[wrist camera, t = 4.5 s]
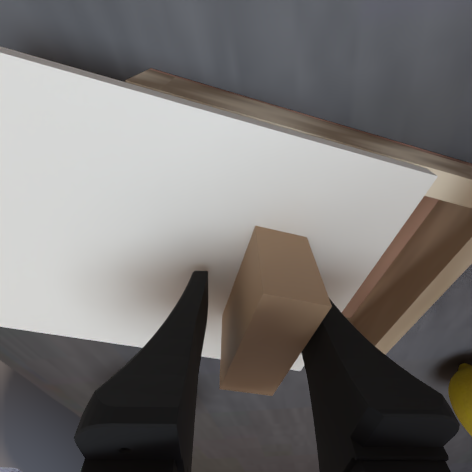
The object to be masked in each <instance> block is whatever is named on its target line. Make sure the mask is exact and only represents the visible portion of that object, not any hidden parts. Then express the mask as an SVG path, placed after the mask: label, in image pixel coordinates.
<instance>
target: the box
mask: <svg viewBox="0 0 472 472" xmlns="http://www.w3.org/2000/svg"><path fill="white" fill-rule="evenodd" d="M125 82H126V83H130V84H133V85H137V86H140V87H144V88H147V89H151V90H154V91H158V92H161V93H165V94H168V95H172V96H175V97H179V98H182V99H186V100H189V101H193V102H196V103H200V104H203V105H207V106H210V107H214V108H217V109H221V110H224V111H228V112H231V113H235V114H238V115H242V116H245V117H249V118H252V119H256V120H259V121H263V122H266V123H270V124H273V125H277V126H280V127H284V128H287V129H291V130H294V131H298V132H301V133H305V134H308V135H312V136H315V137H319V138H322V139H326V140H329V141H333V142H336V143H340V144H343V145H347V146H350V147H354V148H357V149H361V150H364V151H368V152H371V153H375V154H378V155H382V156H385V157H389V158H392V159H396V160H399V161H403V162H406V163H409V164H413V165H416V166H420V167H423V168H427V169H428V170H430V171H431V172H433V173H434V174H435V175H437V176H438V177H437V179H436V180H435V181H434V183H433V184H432V186H431V187H430V189H429V190H428V191H427V193H426V194H425V196H424V197H423V198H422V200H421V201H420V203H419V204H418V205H417V207H416V208H415V210H414V211H413V213H412V214H411V215H410V217H409V218H408V220H407V221H406V222H405V224H404V225H403V227H402V228H401V229H400V231H399V232H398V234H397V235H396V237H395V238H394V239H393V241H392V242H391V244H390V245H389V246H388V248H387V249H386V251H385V252H384V253H383V255H382V256H381V258H380V259H379V261H378V262H377V263H376V265H375V266H374V268H373V269H372V270H371V272H370V273H369V275H368V276H367V277H366V279H365V280H364V282H363V283H362V285H361V286H360V287H359V289H358V290H357V292H356V293H355V294H354V296H353V297H352V299H351V300H350V301H349V303H348V304H347V306H346V307H345V309H344V310H343V311H342V314H343V315H344V316H345V317H346V318H347V319H348V321H349V322H350V323H351V324H352V325H353V326H354V327H355V328H356V329H357V330H358V331H359V332H360V333H361V334H362V335H363V336H364V337H365V338H366V339H367V340H368V341H369V342H371V343H372V344H373V345H374V346H375V347H376V348H378V349H379V350H380V351H381V352H382V353H384V354H386V353H387V352H388V351H389V350H390V349H391V348H392V347H393V346H394V345H395V344H396V343H397V342H398V341H399V340H400V339H401V338H402V336H403V335H404V334H405V333H406V332H407V331H408V330H409V329H410V328H411V327H412V326H413V325H414V324H415V323H416V322H417V321H418V320H419V319H420V317H421V316H422V315H423V314H424V313H425V312H426V311H427V310H428V309H429V308H430V307H431V306H432V305H433V304H434V303H435V302H436V301H437V300H438V299H439V297H440V296H441V295H442V294H443V293H444V292H445V291H446V290H447V289H448V288H449V287H450V286H451V285H452V284H453V283H454V282H455V281H456V280H457V278H458V277H459V276H460V275H461V274H462V273H463V272H464V271H465V270H466V269H467V268H468V267H469V266H470V265H471V264H472V164H471V163H468V162H464V161H461V160H458V159H454V158H451V157H448V156H444V155H441V154H437V153H434V152H431V151H427V150H424V149H421V148H417V147H414V146H411V145H407V144H404V143H400V142H397V141H394V140H390V139H387V138H384V137H380V136H377V135H374V134H370V133H367V132H363V131H360V130H357V129H353V128H350V127H347V126H343V125H340V124H337V123H333V122H330V121H326V120H323V119H320V118H316V117H313V116H310V115H306V114H303V113H300V112H296V111H293V110H289V109H286V108H283V107H279V106H276V105H273V104H269V103H266V102H263V101H259V100H256V99H252V98H249V97H246V96H242V95H239V94H236V93H232V92H229V91H226V90H222V89H219V88H215V87H212V86H209V85H205V84H202V83H199V82H195V81H192V80H189V79H185V78H182V77H179V76H175V75H172V74H168V73H165V72H162V71H158V70H155V69H152V68H150V69H148V70H146V71H144V72H142V73H140V74H138V75H135V76H133V77H131V78H129V79H127V80H125Z"/></svg>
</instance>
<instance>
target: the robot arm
mask: <svg viewBox="0 0 472 472" xmlns="http://www.w3.org/2000/svg"><path fill="white" fill-rule="evenodd" d="M329 300H330V302H331V305H332V307H331V309H330V310H329V312H328V313H327V315H326V316H325V318H324V319H323V321H322V322H321V324H320V325H319V327H318V328H317V330H316V331H315V333H314V334H313V336H312V337H311V339H310V340H309V342H308V343H307V345H306V346H305V348H304V349H303V351H302V352H301V353H302V357H303V361H304V365H305V369H306V373H307V378H308V384H309V391H310V397H311V404H312V411H313V418H314V426H315V434H316V442H317V450H318V460H319V469H320V472H450V470H449V468H448V466H447V464H446V462H445V461H447V460H448V455H447V453H446V451H445V449H444V447H443V446H444V445H445V444H446V443H447V442H448V441H449V440H450V439H452V438H453V437H454V436H455V435H456V433H457V432H458V430H459V426H460V424H459V422H458V421H457V419H456V417H455V415H454V413H453V412H452V410H451V408H450V406H449V405H448V403H447V401H446V400H445V398H444V397H443V395H442V394H440V393H439V392H437V391H436V390H434V389H432V388H431V387H429V386H428V385H426V384H425V383H423V382H422V381H420V380H418V379H417V378H415V377H414V376H413V375H411V374H410V373H408V372H407V371H406V370H404V369H403V368H401V367H400V366H399V365H397V364H396V363H395V362H394V361H392V360H391V359H390V358H388V357H387V356H386V355H385V354H384V353H382V352H381V351H380V350H379V349H378V348H376V347H375V346H374V345H373V344H372V343H371V342H369V341H368V340H367V339H366V338H365V337H364V336H363V335H362V334H361V333H360V332H359V331H358V330H357V329H356V328H355V327H354V326H353V325H352V324H351V323H350V322H349V321H348V319H347V318H346V317H345V316H344V315H343V314H342V313H341V312H340V310H339V309H338V308H337V307H336V306H335V304H334V303H333V302H332V301H331V299H330V298H329ZM207 316H208V271H194V272H193V273H192V275H191V278H190V280H189V282H188V284H187V286H186V288H185V290H184V292H183V294H182V295H181V297H180V299H179V301H178V302H177V304H176V305H175V307H174V308H173V310H172V311H171V313H170V314H169V316H168V317H167V319H166V320H165V321H164V323H163V324H162V325H161V327H160V328H159V329H158V331H157V332H156V333H155V334H154V335H153V337H152V338H151V339H150V340H149V341H148V342H147V343H146V345H145V346H144V347H143V348H142V349H141V350H140V351H139V352H138V353H137V354H136V355H135V356H134V357H133V358H132V359H131V360H130V361H129V362H128V363H127V364H126V365H125V366H124V367H123V368H122V369H121V370H119V371H118V372H117V373H116V374H115V375H114V376H113V377H111V378H110V379H109V380H108V381H107V382H105V383H104V384H103V385H102V386H101V387H99V388H98V389H97V390H96V391H95V392H94V394H93V396H92V397H91V399H90V401H89V403H88V405H87V407H86V408H85V410H84V412H83V415H82V417H81V420H80V423H79V425H78V428H77V431H76V433H75V436H74V439H75V443H76V444H77V446H78V448H79V449H80V451H81V452H82V454H83V456H84V457H85V461H84V463H83V466H82V469H81V472H191V464H192V449H193V435H194V422H195V409H196V396H197V384H198V373H199V366H200V360H201V354H202V349H203V343H204V337H205V331H206V325H207ZM0 472H22V471H21V470H19V469H16V468H9V467H0Z"/></svg>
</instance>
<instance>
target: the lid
mask: <svg viewBox="0 0 472 472" xmlns="http://www.w3.org/2000/svg"><path fill="white" fill-rule="evenodd" d="M437 177H438V176H437V175H435V174H434V173H433V172H431V171H430V170H428V169H427V168H423V167H420V166H416V165H413V164H409V163H406V162H403V161H399V160H396V159H392V158H389V157H385V156H382V155H378V154H375V153H371V152H368V151H364V150H361V149H357V148H354V147H350V146H347V145H343V144H340V143H336V142H333V141H329V140H326V139H322V138H319V137H315V136H312V135H308V134H305V133H301V132H298V131H294V130H291V129H287V128H284V127H280V126H277V125H273V124H270V123H266V122H263V121H259V120H256V119H252V118H249V117H245V116H242V115H238V114H235V113H231V112H228V111H224V110H221V109H217V108H214V107H210V106H207V105H203V104H200V103H196V102H193V101H189V100H186V99H182V98H179V97H175V96H172V95H168V94H165V93H161V92H158V91H154V90H151V89H147V88H144V87H140V86H137V85H133V84H130V83H126V82H123V81H119V80H116V79H112V78H109V77H105V76H102V75H98V74H95V73H91V72H88V71H84V70H81V69H77V68H74V67H70V66H67V65H63V64H60V63H56V62H53V61H49V60H46V59H42V58H39V57H35V56H32V55H28V54H25V53H21V52H18V51H14V50H11V49H7V48H4V47H0V327H6V328H13V329H20V330H27V331H33V332H40V333H47V334H54V335H60V336H67V337H74V338H81V339H87V340H94V341H101V342H108V343H114V344H121V345H128V346H135V347H142V348H143V347H144V346H145V345H146V343H147V342H148V341H149V340H150V339H151V338H152V337H153V335H154V334H155V333H156V332H157V331H158V329H159V328H160V327H161V325H162V324H163V323H164V321H165V320H166V319H167V317H168V316H169V314H170V313H171V311H172V310H173V308H174V307H175V305H176V304H177V302H178V301H179V299H180V297H181V295H182V294H183V292H184V290H185V288H186V286H187V284H188V282H189V280H190V278H191V275H192V273H193V272H194V271H208V316H207V325H206V331H205V337H204V343H203V349H202V354H201V356H202V357H209V358H216V359H221V363H220V389H224V390H232V391H239V392H247V393H254V394H262V395H270V396H272V395H273V394H274V392H275V391H276V389H277V388H278V386H279V385H280V383H281V382H282V380H283V379H284V377H285V376H286V374H287V373H288V371H289V370H297V371H301V369H302V368H303V366H304V361H303V357H302V353H301V352H302V351H303V349H304V348H305V346H306V345H307V343H308V342H309V340H310V339H311V337H312V336H313V334H314V333H315V331H316V330H317V328H318V327H319V325H320V324H321V322H322V321H323V319H324V318H325V316H326V315H327V313H328V312H329V310H330V309H331V307H332V305H331V302H330V300H329V298H330V299H331V301H332V302H333V303H334V304H335V306H336V307H337V308H338V309H339V310H340V312H341V313H342V311H343V310H344V309H345V307H346V306H347V304H348V303H349V301H350V300H351V299H352V297H353V296H354V294H355V293H356V292H357V290H358V289H359V287H360V286H361V285H362V283H363V282H364V280H365V279H366V277H367V276H368V275H369V273H370V272H371V270H372V269H373V268H374V266H375V265H376V263H377V262H378V261H379V259H380V258H381V256H382V255H383V253H384V252H385V251H386V249H387V248H388V246H389V245H390V244H391V242H392V241H393V239H394V238H395V237H396V235H397V234H398V232H399V231H400V229H401V228H402V227H403V225H404V224H405V222H406V221H407V220H408V218H409V217H410V215H411V214H412V213H413V211H414V210H415V208H416V207H417V205H418V204H419V203H420V201H421V200H422V198H423V197H424V196H425V194H426V193H427V191H428V190H429V189H430V187H431V186H432V184H433V183H434V181H435V180H436V179H437Z"/></svg>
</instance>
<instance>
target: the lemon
mask: <svg viewBox="0 0 472 472" xmlns="http://www.w3.org/2000/svg"><path fill="white" fill-rule="evenodd" d="M449 398H450V401H451V404H452V407H453V409H454V411H455V414H456V415H457V417H458V419H459V420H460V422H461V424H462V425H463V426H464V428H465V429H466V430H467V431H468V433H469V434H470V435H471V436H472V365H469V364H466V363H463V364H460V365H459V368H458V371H457V372H456V373H455V374H454V375H453V377H452V378H451V380H450V383H449Z"/></svg>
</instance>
